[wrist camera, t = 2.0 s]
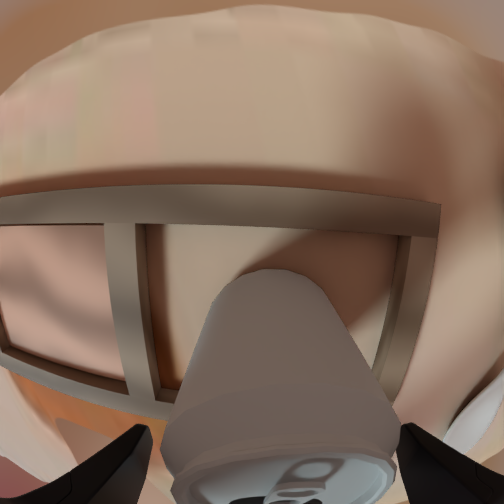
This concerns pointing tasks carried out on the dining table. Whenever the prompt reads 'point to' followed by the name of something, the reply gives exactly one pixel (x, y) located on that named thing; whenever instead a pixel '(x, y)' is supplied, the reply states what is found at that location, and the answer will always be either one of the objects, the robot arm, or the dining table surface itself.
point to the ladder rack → (136, 279)
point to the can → (279, 404)
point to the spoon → (476, 417)
